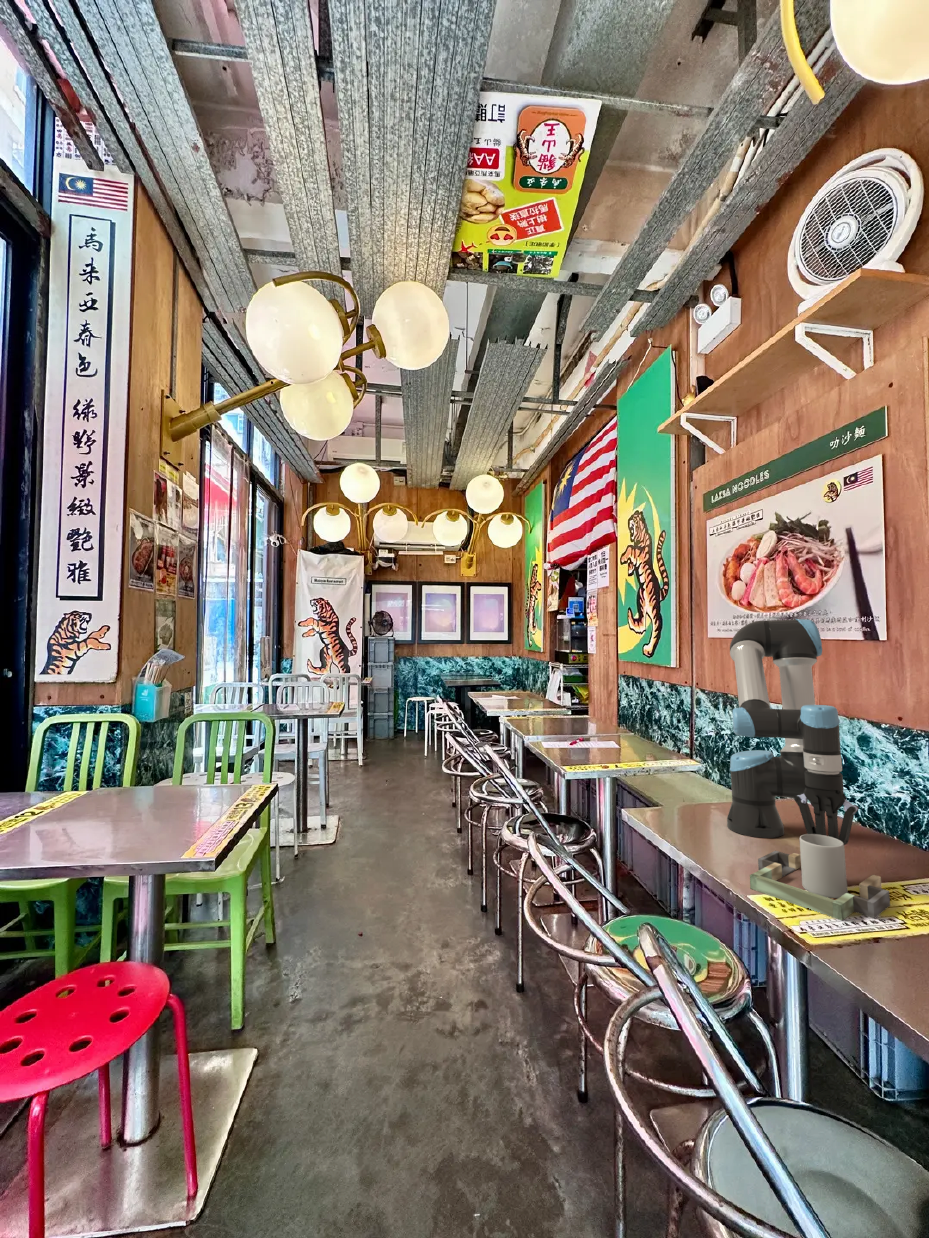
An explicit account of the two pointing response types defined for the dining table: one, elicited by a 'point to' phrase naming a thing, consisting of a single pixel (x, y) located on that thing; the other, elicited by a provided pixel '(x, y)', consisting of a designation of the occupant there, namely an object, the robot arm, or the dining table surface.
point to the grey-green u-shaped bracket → (782, 864)
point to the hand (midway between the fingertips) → (829, 872)
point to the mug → (823, 865)
